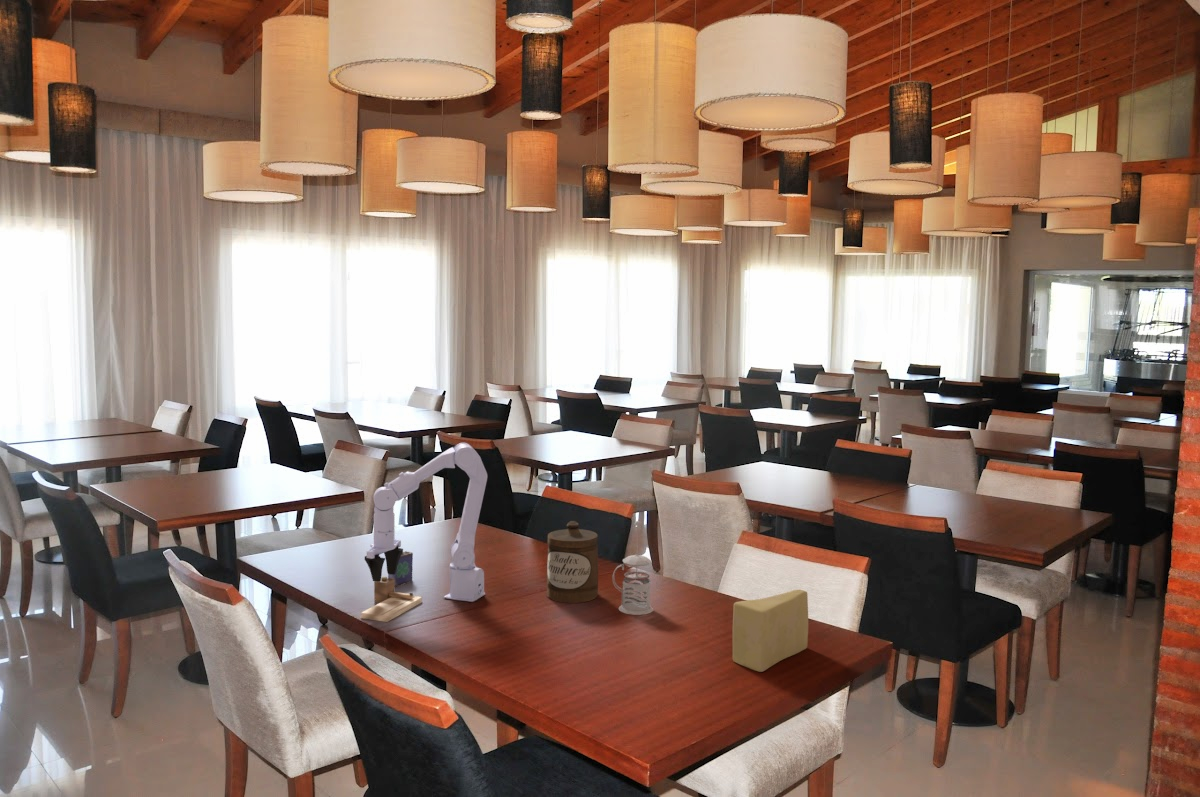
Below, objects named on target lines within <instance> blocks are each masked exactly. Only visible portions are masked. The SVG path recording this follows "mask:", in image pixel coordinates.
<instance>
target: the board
mask: <svg viewBox="0 0 1200 797" xmlns="http://www.w3.org/2000/svg"><path fill="white" fill-rule="evenodd" d="M421 603H423V597H422V596H416V595H414V598H412V599H407V598H399V597H390V598H388V599H386V600H384V601H383V602H381V603H377V604H376V605H373V606H371V607H370V608H368V609H365V610H363V611H362V612H360V614H361V615H360V619H364V620H371V621H379V622H384V623H386V622H387V623H388V622H390V621H391V620H393V619H395V618H397V617H399V616H400V615H402V614H404V613H406V612H407V611H409V610H411V609H413V608H414V607H416V606H418V605H420V604H421Z"/></svg>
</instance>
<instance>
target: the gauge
mask: <svg viewBox="0 0 1200 797" xmlns="http://www.w3.org/2000/svg"><path fill="white" fill-rule="evenodd" d="M373 582H374V584H373V585H374V587H373V590H374V603H377V604H379V603H381V602H383V601H384V600H386V599H388V598H390V597H399V598H407V599H412V598H414V596H415V595H414V593H413V591H412V592H409V593H408V592H405V593H404V592H398V591H395V587H394V579H389V578H388V576H381V581H380V582H377V581H373Z"/></svg>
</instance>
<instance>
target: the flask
mask: <svg viewBox="0 0 1200 797" xmlns="http://www.w3.org/2000/svg"><path fill="white" fill-rule="evenodd" d="M413 555H414V553H413V552H411V551H407V550H406V551H403V553H402V554H401V556H400V559H399V561H398V565H397V569H396V573H395V574H394V575H393V574H388V573H387V578H389V579H394V588H398V587H400V586H403V585H405V584H406V585H407V584H409V583H412V582H413Z"/></svg>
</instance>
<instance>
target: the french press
mask: <svg viewBox="0 0 1200 797" xmlns="http://www.w3.org/2000/svg"><path fill="white" fill-rule="evenodd" d="M633 525H634V526H636V554H633V555H628V556H626V557H625V558H623V559H622V563H621V564H619V565H617V566H616V567H615V569H614V571H613V572H612V578H613V579H612V584H613V586H614V587H615V589H617V590H618V591H619V592H621V605H620V606H619V607H618V610H619V611H620V613H624V614H627V615H634V616H635V615H636V616H639V615H640V616H641V615H647V614H651V613H652V612H654V608H653V607H652V606H651V579H649V578H650V574H649V573H647V572H643V571H638V567H646V566H649V565H651V564H652V560H651V559H650V558H649V557H647V556H645V555H642V554H640V555H639V554H638V550H639V549H638V548H639V547H638V546H639V545H638V544H639V543H638V542H639V539H638V538H639V527H640V526H642V523H641V521H639V520H636V521H635V522H634V524H633ZM625 565H628V566H632V567H633V566H634V567H636V569H635V570H636V571H628V572H625V573H624V574H623V577H624V578H623V580H622V588H621V587H619V585H618V584H617V583H616V580H615V579H616V577H615V574H616V571H617V570H618V569H619V568H620V567H621V568H622V569H621V570H622V571H624V570H625ZM632 581H635V582H632ZM636 581H638V582H636ZM630 582H631V583H630ZM639 582H640V583H639ZM641 583H642V584H641ZM642 593H643V594H642Z"/></svg>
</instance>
